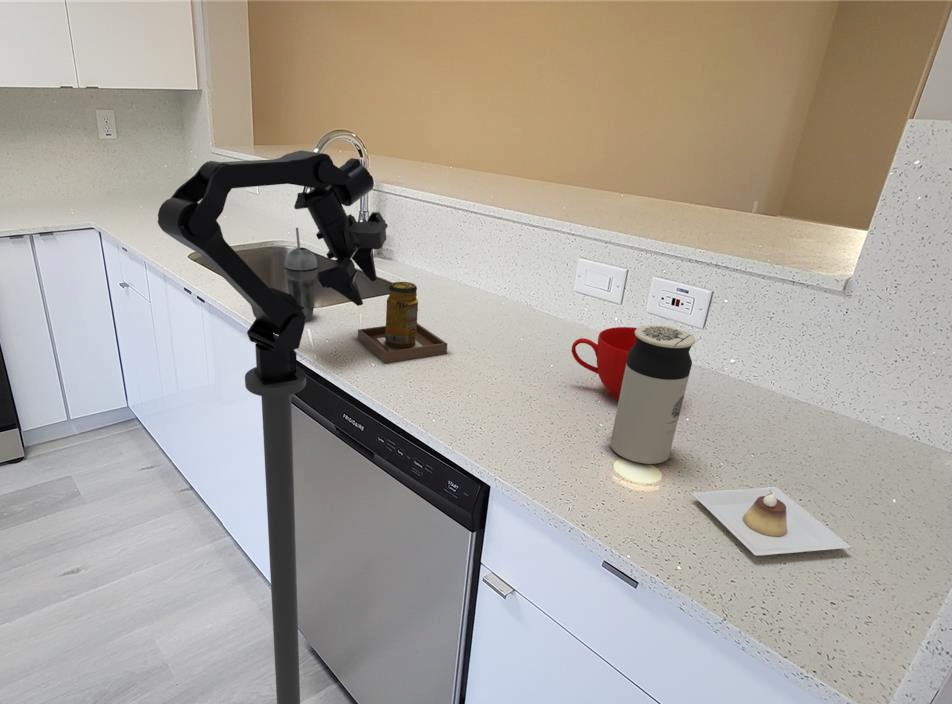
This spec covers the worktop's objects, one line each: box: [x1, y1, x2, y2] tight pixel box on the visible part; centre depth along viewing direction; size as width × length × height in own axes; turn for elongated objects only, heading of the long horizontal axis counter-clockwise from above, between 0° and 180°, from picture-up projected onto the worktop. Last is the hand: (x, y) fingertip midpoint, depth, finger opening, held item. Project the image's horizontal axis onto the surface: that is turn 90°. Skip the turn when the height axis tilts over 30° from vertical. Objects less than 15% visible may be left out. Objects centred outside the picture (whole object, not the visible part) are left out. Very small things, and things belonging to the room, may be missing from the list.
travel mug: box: [609, 324, 696, 465], centre depth 90 cm, size 8×8×18 cm
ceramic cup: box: [571, 326, 638, 401], centre depth 109 cm, size 13×17×10 cm
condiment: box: [377, 281, 422, 351], centre depth 125 cm, size 7×8×12 cm
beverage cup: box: [283, 227, 319, 322], centre depth 138 cm, size 7×7×20 cm
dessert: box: [691, 486, 852, 557], centre depth 77 cm, size 12×12×5 cm
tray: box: [357, 322, 448, 364], centre depth 128 cm, size 13×13×2 cm
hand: (367, 292), depth 123 cm, fingers open, 9 cm apart
